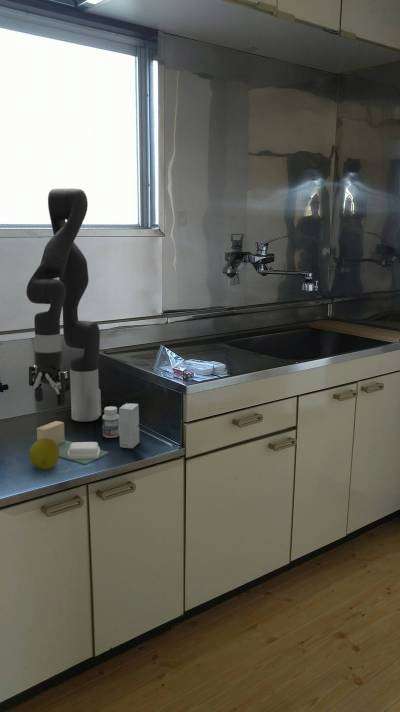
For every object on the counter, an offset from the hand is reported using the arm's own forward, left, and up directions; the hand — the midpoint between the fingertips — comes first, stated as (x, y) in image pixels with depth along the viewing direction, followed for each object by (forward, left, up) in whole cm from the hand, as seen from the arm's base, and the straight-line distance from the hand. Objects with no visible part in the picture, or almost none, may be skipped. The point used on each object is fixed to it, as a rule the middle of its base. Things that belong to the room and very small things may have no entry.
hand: (49, 403), depth 174 cm
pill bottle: (-17, +8, -14) cm, 23 cm away
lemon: (+12, +10, -14) cm, 21 cm away
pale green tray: (0, +8, -13) cm, 15 cm away
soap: (0, +13, -13) cm, 18 cm away
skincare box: (-14, +18, -14) cm, 27 cm away
